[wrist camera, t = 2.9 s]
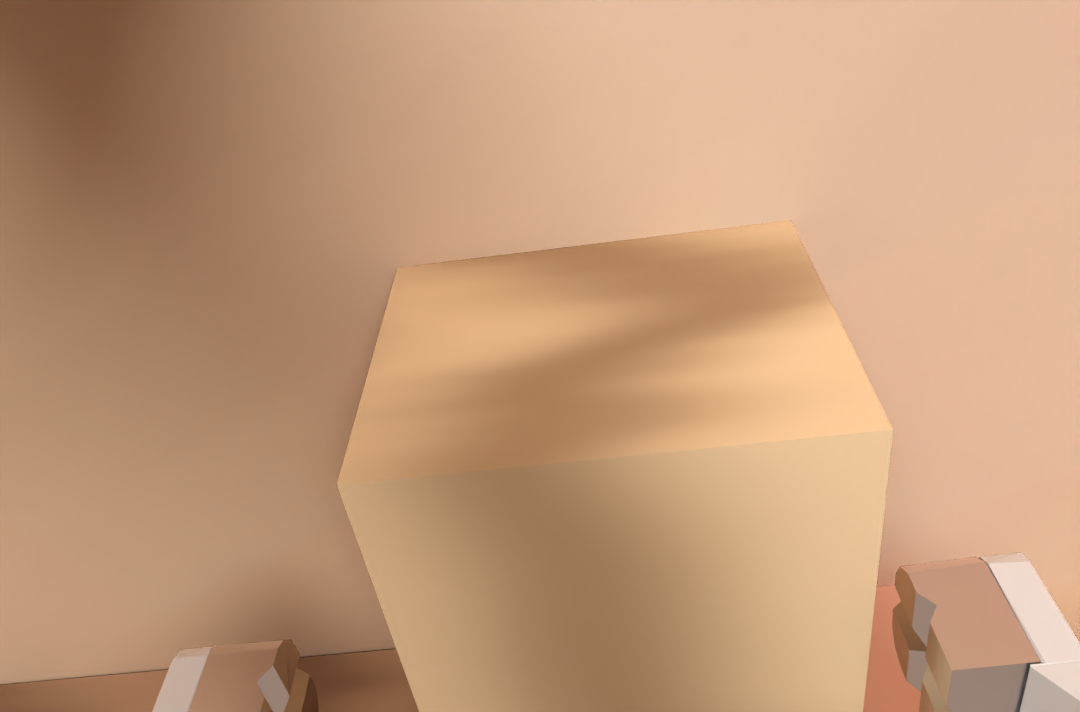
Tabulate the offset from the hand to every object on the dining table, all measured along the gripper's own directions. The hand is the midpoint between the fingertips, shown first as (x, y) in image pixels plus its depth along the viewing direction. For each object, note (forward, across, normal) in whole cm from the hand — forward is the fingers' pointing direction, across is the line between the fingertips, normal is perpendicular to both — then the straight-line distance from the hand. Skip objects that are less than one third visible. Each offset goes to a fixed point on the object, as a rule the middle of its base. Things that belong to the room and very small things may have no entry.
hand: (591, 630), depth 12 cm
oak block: (+4, -1, 0) cm, 4 cm away
